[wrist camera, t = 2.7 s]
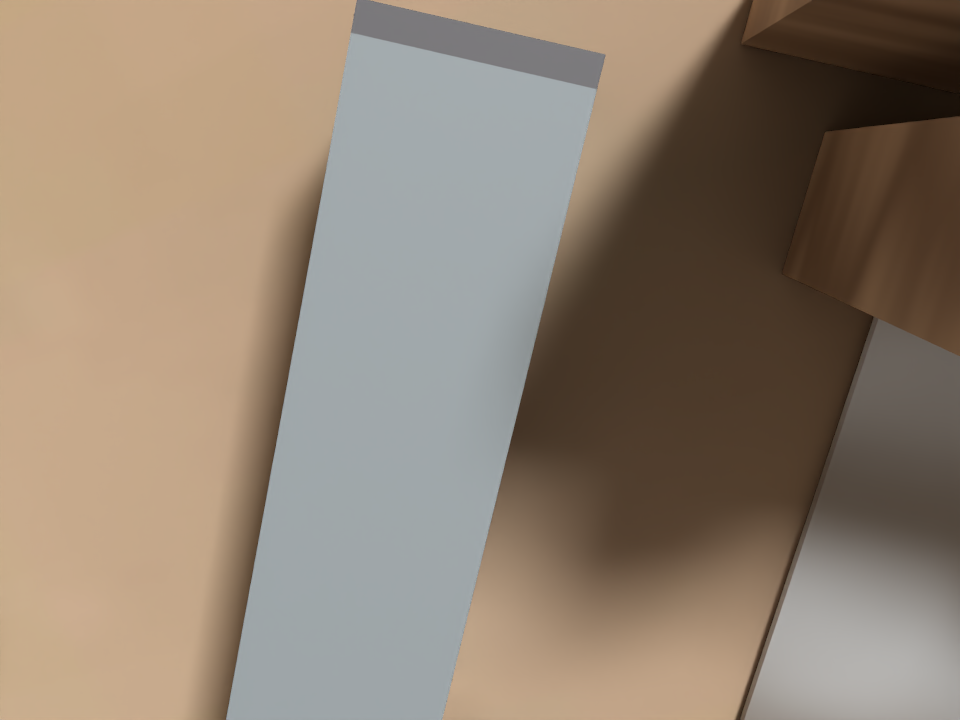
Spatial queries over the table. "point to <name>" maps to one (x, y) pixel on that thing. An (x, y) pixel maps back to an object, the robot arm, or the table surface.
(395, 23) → the rail
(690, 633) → the table surface
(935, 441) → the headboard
